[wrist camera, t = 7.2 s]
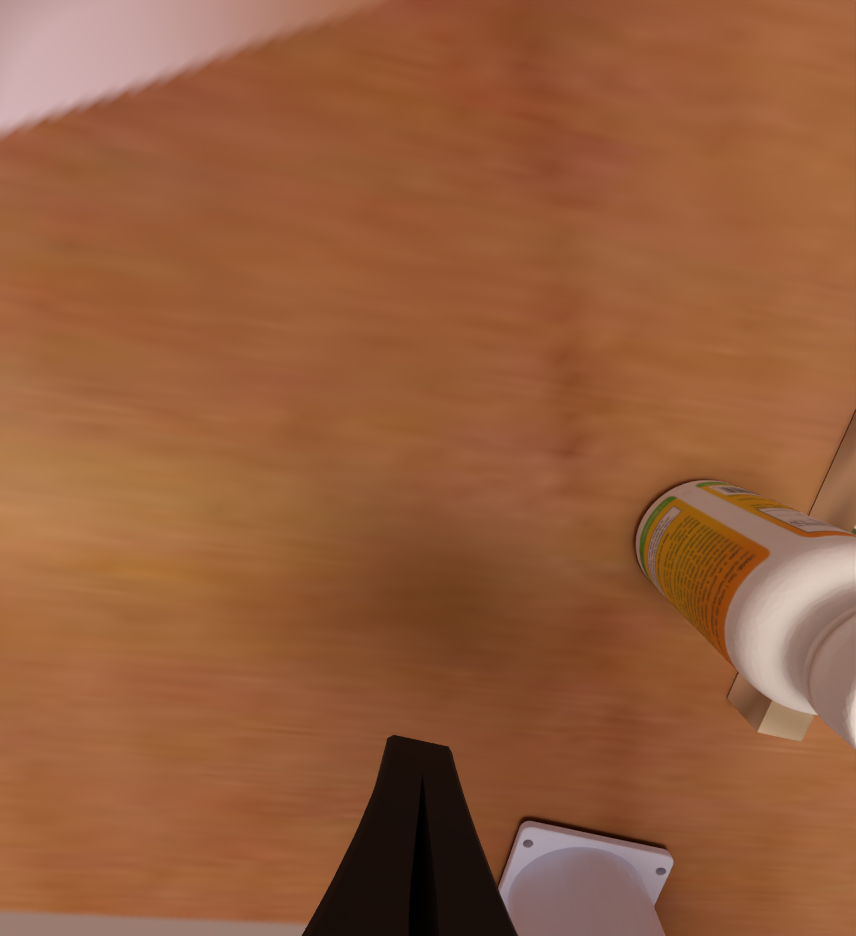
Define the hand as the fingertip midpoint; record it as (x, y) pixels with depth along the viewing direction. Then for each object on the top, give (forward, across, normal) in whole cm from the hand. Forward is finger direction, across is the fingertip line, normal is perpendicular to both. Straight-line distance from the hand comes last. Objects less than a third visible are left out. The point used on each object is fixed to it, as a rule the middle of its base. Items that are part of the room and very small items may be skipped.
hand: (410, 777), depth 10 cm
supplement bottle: (+11, -11, -4) cm, 16 cm away
